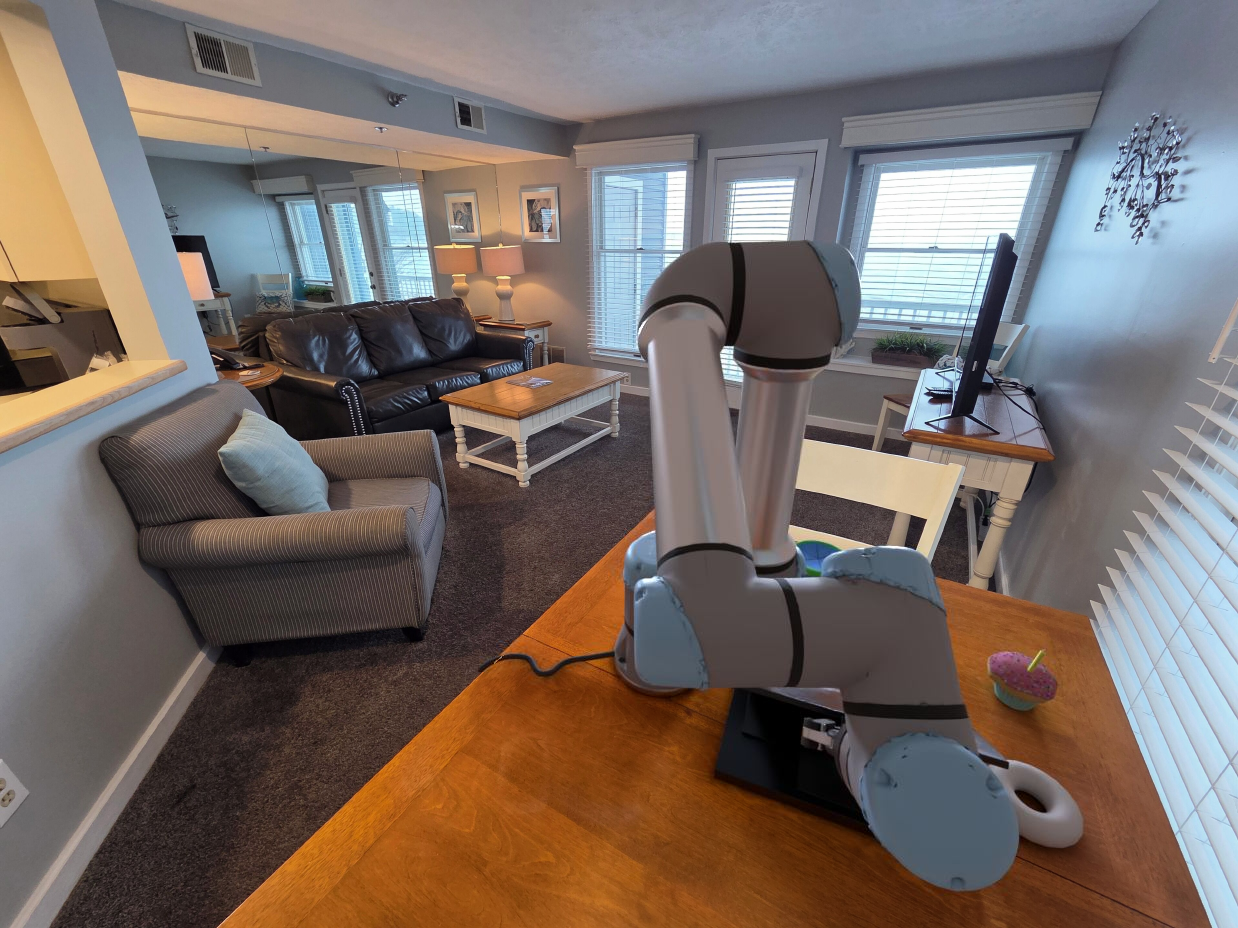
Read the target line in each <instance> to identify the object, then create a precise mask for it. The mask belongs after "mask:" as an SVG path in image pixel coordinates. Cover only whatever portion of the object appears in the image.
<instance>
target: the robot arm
mask: <svg viewBox="0 0 1238 928" xmlns="http://www.w3.org/2000/svg"><path fill="white" fill-rule="evenodd" d="M641 303H642V304H641V307H640V309H639V313H638V318H637V328H636V329H637V331H636V333H637V334H636V335H637V348H638V351H639V354H640V356H641V357H642V359H643V360H644V361H645V362H646V363H647V372H648V373H647V374H648V396H649V417H650V439H651V441H650V442H651V461H652V462H651V463H652V465H651V466H652V484H653V485H652V486H653V507H654V509H653V510H654V530H652V531H650V532H647V533H645V534H643V535H641V536H639V537H638V539H636V540H634V541H632V543H630V545H629V547H628V548H627V550H626V553H625V556H624V566H623V571H622V581H623V583H624V596H623V597H624V598H623V599H624V604H623V605H624V606H623V607H624V608H623V612H624V618H623V619H624V621H623V623H622V626H621V628H620V630H619V633H618V636H617V638H616V640H615V643H614V647H613V650H608V651H603V652H602V651H601V652H596V653H590V654H583V655H576V656H571V657H567V658H564V659H561V661H559V662H558V663H556V664H555V665H554V666H552V667H551V668H550V669H547V670H542V669H541V668H539V665H538V664H537V662H536V660H535V659H534V658H533V656H531V655H530V654H528V653H527V654H526V653H520V652H511V653H510V652H509V653H504V654H505V655H504V656H502V655H503V654H499V655H497V656H494V657H492V658H490V659H488V660H487V661H486V662H484V663H483V664H481V665H480V666H479V667H478V668H477V671H476V672H477V673H484V672H485V671H486V670H487V669H489V668H490V667H492V666H494V665H495V664H497V663H500V662H504V661H507V660H523V661H526V662H527V663H528V664H529V666H530V668H531V670H532V672H533V673H534V674H535V675H536V676H538V677H543V678H547V677H551V676H553V675H555V674H556V673H557V672H558V671H560V670H561V669H563V668H564V667H566V666H567V665H571V664H576V663H583V662H590V661H595V660H601V659H607V658H613V664H614V665H613V666H614V669H615V671H616V673H617V676H618V677H619V678H620V679H621V681H622V682H623V683H624V684H625V685H626V686H628V687H629V688H630V689H632V690H633V691H635V692H638V693H639V694H642V695H645V696H649V697H655V698H669V697H675V696H678V695H681V694H684V693H686V692H688V691H689V690H691V689H697V690H700V691H703V692H704V691H708V689H734V688H749V687H782V688H785V687H792V688H839V689H840V693H841V697H842V705H843V711H844V713H845V717H843V716H841V725H840V726H838V725H837V727H835V724H836V722H833V721H832V720H831V719H816V720H813V719H811V718H804V723H803V729H802V737H801V745H803V746H804V747H805V748H808V749H809V748H814V749H818V750H821V751H823V749H825V748H826V751H827V752H828V753H829V754H830V755H832V756H834V759H835V763H836V766H837V769H838V772H839V774H840V776H841V778H842V780H843V782H844V783H845V785H846V787H847V788H848V790H849V791H850V793H851V794H852V795H853V797H854V799H855V800H856V802H857V803H858V805H859V807H860V808H861V810H862V812H863V815H864V818H865V820H866V821H867V822H868V823H869V826H868V827H869V828H870V830H871V831H872V832H873V833H874V835H875V837H876V838H875V837H874V838H875V839H876V841H877V842H878V843H879V844H880V845H881V847H882V848H883V849H884V850H885V851H886V852H888V853H890V854H891V855H892V856H893V858H895V859H896V861H898V862H899V863H900V864H901V865H902V866H903V867H904V868H906V870H908V871H909V872H910V873H911V874H913V875H915V876H916V877H918V878H919V879H921V880H923V881H925V882H927V883H929V884H931V885H933V886H936V887H938V888H943V889H946V890H951V891H953V892H964V891H967V892H968V891H969V892H971V891H978V890H982V889H985V888H987V887H990V886H992V885H993V884H995V883H997V882H998V881H999V880H1000V879H1002V878H1003V877H1004V876H1005V875H1006V874H1007V872H1008V871H1009V870H1010V868H1011V867H1012V865H1013V863H1014V862H1015V859H1016V856H1017V853H1018V849H1019V844H1020V835H1019V826H1018V820H1017V816H1016V812H1015V809H1014V806H1013V803H1012V801H1011V798H1010V796H1009V794H1008V793H1007V791H1006V789H1005V787H1004V786H1003V785H1002V783H1001V782H1000V780H999V779H998V777H997V776H996V775H995V774H994V773H993V772H992V770H991V769H990V768H989V767H988V766H989V765H988V764H987V763H984V762H983V761H982V759H981V757H979V753H978V749H977V745H976V741H975V736H974V732H973V729H974V727H973V725H972V721H971V720H972V719H971V717H970V716H969V713H968V709H967V705H966V703H965V702H964V699H963V694H962V688H961V685H960V679H959V674H958V669H957V666H956V665H957V664H956V661H955V655H954V650H953V646H952V640H951V636H950V635H951V634H950V630H949V625H948V620H947V617H948V614H947V609H946V606H945V604H944V603H945V602H944V600H943V598H942V594H941V590H940V588H939V585H938V582H937V579H936V577H935V574H934V571H933V569H932V565H931V563H930V561H929V559H928V558H927V557H926V556H925V555H924V554H922V553H921V552H920V551H918V550H916V549H913V548H910V547H906V546H899V545H898V546H897V545H876V546H870V547H855V548H849V549H844V550H842V551H839V552H836V553H833V554H831V555H829V556H827V557H826V558H825V559H824V560H823V563H822V573H821V577H812V578H805V576H806V574H807V572H806V564H805V560H804V556H803V554H802V552H801V551H800V549H799V548H798V547H797V546H796V543H797V542H796V541H795V539H794V537H793V536H792V535H791V534H790V533H789V529H790V523H791V517H792V512H793V505H794V500H795V492H796V488H797V483H798V482H797V481H798V476H799V470H800V463H801V458H802V452H803V446H804V439H805V434H806V428H807V421H808V416H809V410H810V404H811V398H812V393H813V392H812V391H813V386H814V381H815V380H814V379H815V377H816V376H817V375H818V374H820V373H821V372H823V371H824V370H825V369H827V368H828V367H829V366H830V363H831V358H832V353H833V348H834V347H835V348H841V347H842V346H844V345H847V344H848V343H850V341H852V340H853V338H854V334H855V333H856V332H857V330H858V326H859V324H860V317H861V313H862V312H861V311H862V283H861V278H860V273H859V269H858V267H857V264H856V260H855V259H854V256H853V254H852V253H851V252H850V250H849V249H848V248H847V247H845V246H844V245H843V244H840V243H837V242H833V241H822V240H821V241H820V240H810V239H802V240H775V241H773V240H772V241H770V240H769V241H735V242H733V241H732V242H728V241H713V242H707V243H703V244H700V245H698V246H695V247H692V248H691V249H689V250H687V251H685V252H684V253H682V254H680V255H679V256H678V257H677V258H675V259H674V260H672V261H671V262H670V263H669V264H667V266H666V267H665V268H664V269H663V270H662V271H661V272H660V273H658V276H657V277H656V278H655V279H654V281H653V283H652V284H651V285H650V287H649V288H648V290H647V292H646V294H645V297H644V299H643V301H642V302H641ZM725 347H733V349H732V360H733V362H735V364H736V365H737V366H738V367H739V368H740V369H741V370H742V383H741V390H740V391H741V392H740V402H739V411H738V421H737V430H736V431H737V432H736V439H735V437H734V430H733V424H732V418H731V412H730V406H729V400H728V395H727V388H726V382H725V376H724V370H723V364H722V359H721V353H722V351H723V350H724V348H725ZM501 656H502V658H501V659H499V658H500V657H501ZM498 659H499V660H498ZM496 660H498V661H497V662H496V663H495V664H494V662H495V661H496Z"/></svg>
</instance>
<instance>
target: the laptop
mask: <svg viewBox="0 0 1238 928" xmlns="http://www.w3.org/2000/svg"><path fill="white" fill-rule="evenodd" d="M730 699H731V700H730V703H729V706H728V707H729V708H728V712H727V716H726V719H725V720H726V721H725V725H724V729H723V733H722V737H721V741H720V746H719V749H718V754H717V758H716V762H715V767H714V773H713V779H716V780H719V781H722V782H724V783H726V784H729V785H732V786H735V787H736V788H737V787H738V788H740V789H743V790H746V791H748V792H751V793H753V794H756V795H759V796H761V797H764V798H767V799H769V800H772V801H775V802H778V803H780V804H783V805H786V806H789V807H791V808H794V809H796V810H800V811H802V812H805V813H808V814H810V815H813V816H816V817H818V818H821V819H823V820H826V821H829V822H831V823H835V824H837V825H839V826H843V827H845V828H848V829H851V830H853V831H855V832H858V833H861V834H864V835H866V836H870V837H872V838H875V839H876V837H875V835H874V833H873V832H872V831H871V830H870V828H869V827H868V826H869V823H868V822H867V821H866V820H865V818H864V815H863V812H862V810H861V808H860V807H859V805H858V803H857V802H856V800H855V799H854V797H853V795H852V794H851V793H850V791H849V790H848V788H847V787H846V785H845V783H844V782H843V780H842V778H841V776H840V774H839V772H838V769H837V766H836V763H835V759H834V756H832V755H830V754H829V753H828V752H827V751H826V748H825V749H823V751H821V750H818V749H814V748H809V749H808V748H805V747H804V746H803V745H801V737H802V729H803V723H804V718H811V719H813V720H816V719H831V720H832V721H833V722H836V724H835V727H837V725H838V726H840V725H841V719H839V718H836V717H832V716H829V715H826V714H822V713H819V712H816V711H813V710H809V709H806V708H803V707H799V706H796V705H793V704H790V703H786V702H783V701H780V700H776V699H773V698H770V697H766V696H763V695H760V694H757V693H753V692H750V691H747V690H743V689H740V688H733V691H732V695H731V698H730Z"/></svg>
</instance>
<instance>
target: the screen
mask: <svg viewBox="0 0 1238 928" xmlns="http://www.w3.org/2000/svg"><path fill="white" fill-rule="evenodd" d="M740 689H743V690H747V691H750V692H753V693H757V694H760V695H763V696H766V697H770V698H773V699H776V700H780V701H783V702H786V703H790V704H793V705H796V706H799V707H803V708H806V709H809V710H813V711H816V712H819V713H822V714H826V715H829V716H832V717H836V718H839V719H841V716H843V717H845V713H844V711H843V705H842V697H841V693H840V689H839V688H792V687H785V688H782V687H749V688H740ZM973 732H974V736H975V741H976V745H977V749H978V753H979V757H981V759H982V761H983V762H984V763H985V764H986V765H990V764H991V765H994V766H997V767H1001V768H1004V769H1007V770H1008V769H1009V762H1008V761H1007V760H1008V759H1006V758H1005V756H1003V755H1002V754H1001V753H1000V752H999V751H998V750H997V749H996V748H995V747H993V745H992V744H991V743H989V742H988V741H987V740H986V739H985V738H984V737H983V736H982V735H981V734H980V733H979V732H978V731H977V730H976V729H974V728H973Z"/></svg>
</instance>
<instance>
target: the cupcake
mask: <svg viewBox="0 0 1238 928" xmlns="http://www.w3.org/2000/svg"><path fill="white" fill-rule="evenodd" d="M1046 651H1047V648H1045V649H1043V650H1042V649H1041V650H1040V651H1038V653H1037V655H1036V657H1035V658H1033V657H1031V656H1029V655H1027V654H1025V653H1021V652H1017V651H1011V650H1007V651H1000V652H996V653H994V654H992V655H990V656H989V657H988V659H987V664H986V665H987V668H986V669H987V674H988V677H989V678H990V679H991V680H992V681H993V685H994V688H993V690H994V694H995V696H996V697H997V698H998V700H999V701H1000V702H1002V704H1004V705H1006V706H1008V707H1010V708H1011V709H1014V710H1017V711H1022V712H1023V711H1024V712H1026V711H1029V710H1031V709H1033V708H1034V707H1035V706H1037V705H1038V704H1045V703H1047V702H1050V701H1053V700H1054V699H1055V698H1056V695H1057V690H1058V687H1059V683H1058V681H1057V678H1056V677H1055V675H1054V674H1053V673H1052V672H1051V671H1050V670H1049V668H1047V667H1046V665H1044V663H1041V661H1042V660H1043V658H1045V656H1046V654H1047V653H1046Z"/></svg>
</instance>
